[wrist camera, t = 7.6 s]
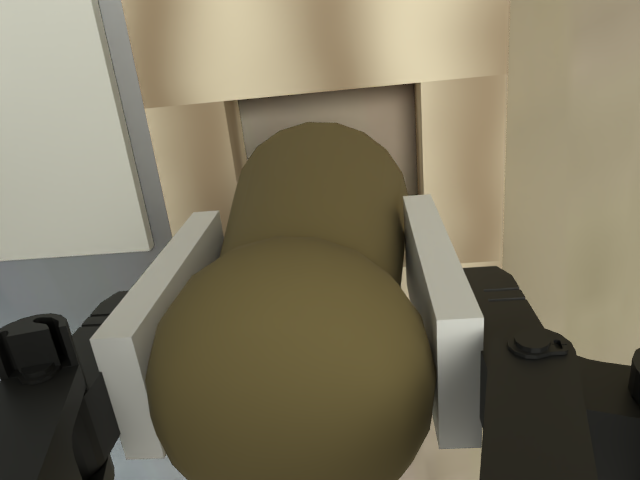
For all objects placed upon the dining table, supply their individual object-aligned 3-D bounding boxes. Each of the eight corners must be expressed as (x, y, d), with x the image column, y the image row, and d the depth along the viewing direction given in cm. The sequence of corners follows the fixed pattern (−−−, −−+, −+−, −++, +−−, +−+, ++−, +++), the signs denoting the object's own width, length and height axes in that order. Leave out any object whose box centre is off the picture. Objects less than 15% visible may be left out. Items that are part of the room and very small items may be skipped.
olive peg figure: (388, 301, 20) (425, 603, 10) (225, 272, 20) (88, 546, 9) (428, 139, 17) (534, 313, 7) (244, 106, 17) (87, 233, 7)
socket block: (212, 331, 28) (198, 360, 26) (144, -5, 22) (119, -8, 20) (487, 317, 27) (499, 345, 24) (494, -46, 21) (511, -54, 18)
